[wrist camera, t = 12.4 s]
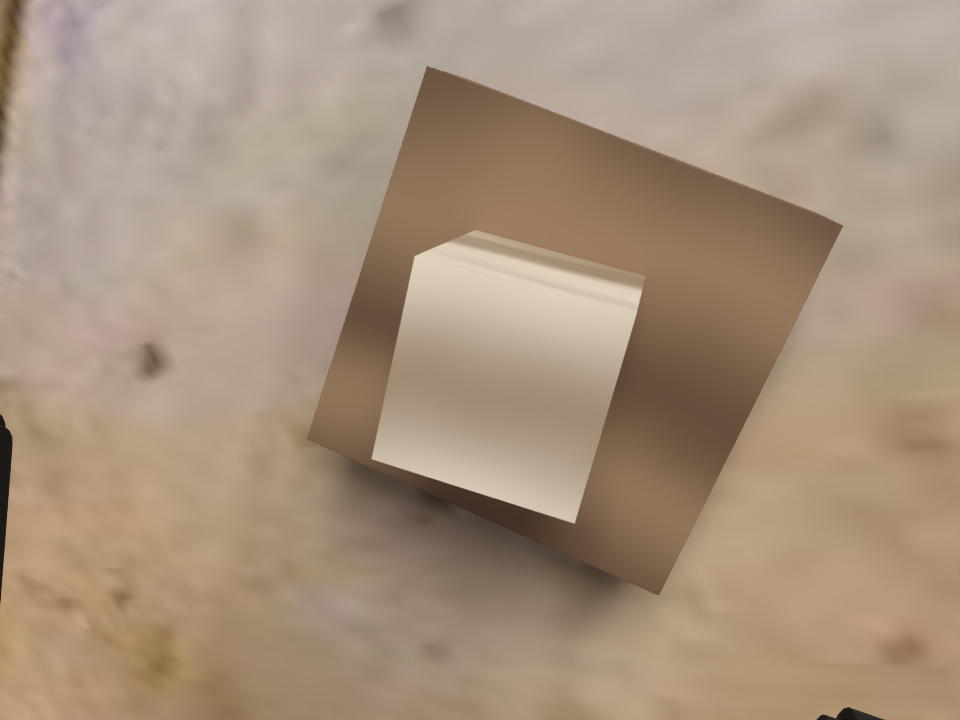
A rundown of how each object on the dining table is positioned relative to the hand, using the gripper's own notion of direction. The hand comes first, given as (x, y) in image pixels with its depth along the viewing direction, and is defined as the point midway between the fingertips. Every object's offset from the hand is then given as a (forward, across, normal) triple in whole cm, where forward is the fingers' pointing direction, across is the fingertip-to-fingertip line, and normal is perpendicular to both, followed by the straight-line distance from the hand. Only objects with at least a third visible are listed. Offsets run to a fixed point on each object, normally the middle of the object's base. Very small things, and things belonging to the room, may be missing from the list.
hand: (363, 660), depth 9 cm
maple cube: (+16, +1, 0) cm, 16 cm away
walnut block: (+21, +1, 0) cm, 21 cm away
